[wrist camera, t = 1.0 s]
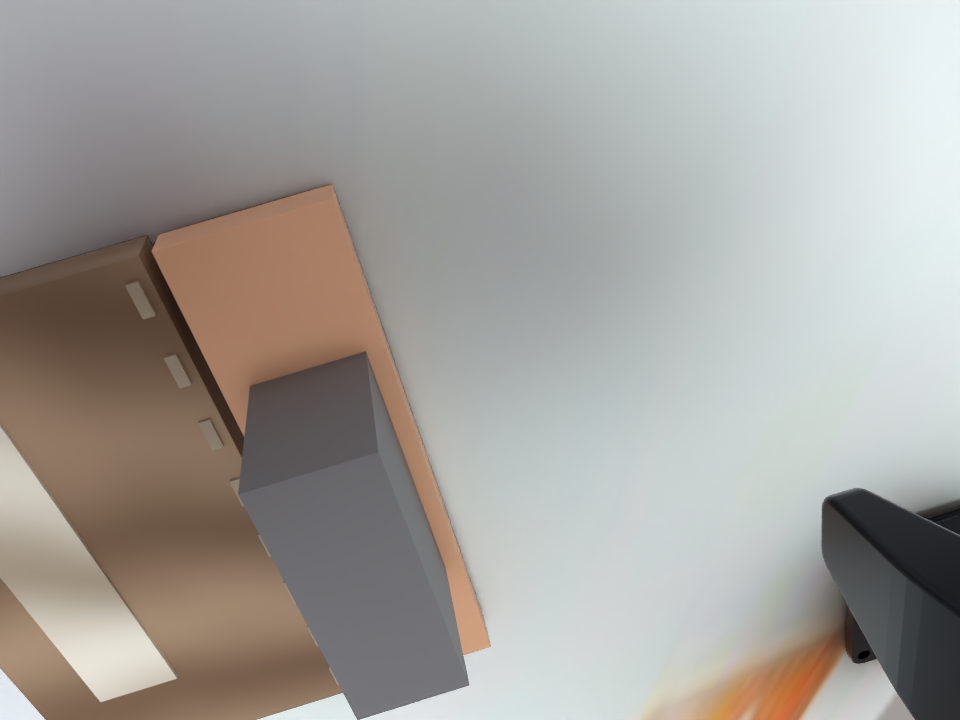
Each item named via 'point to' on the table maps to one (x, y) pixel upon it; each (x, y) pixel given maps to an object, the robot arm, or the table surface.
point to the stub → (329, 446)
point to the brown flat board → (131, 512)
